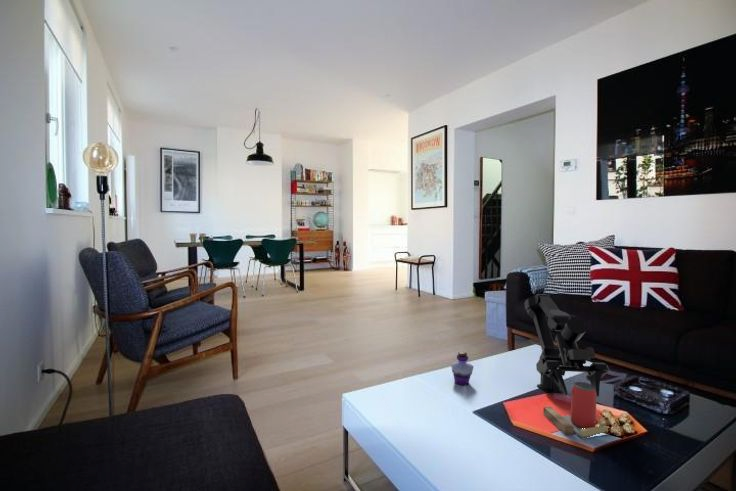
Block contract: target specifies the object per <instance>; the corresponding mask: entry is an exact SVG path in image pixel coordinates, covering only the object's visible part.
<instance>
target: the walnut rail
mask: <svg viewBox="0 0 736 491" xmlns="http://www.w3.org/2000/svg"><path fill="white" fill-rule="evenodd" d="M542 410H543V411H542V414H543V416H544V417H545V418H547V419H548V420H549V422H551V423H552V424H553V425H554V426H555V428H557V429H558V430H559V429H560V430H561V431H562V432H563V433H562V432H561V431H560V430H559V431H560V432H561V433H562V434H563V435H565V436H571V435H570V434H574V426H572V425H571V424H570V423H569V422H568V421H567V420H566V419H564V418H563V417H562V416H563V415H561V414H560V413H559V412H558V411H557V410H556V409H555V408H553V407H552V406H543V409H542ZM574 435H575V434H574Z"/></svg>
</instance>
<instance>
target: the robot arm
mask: <svg viewBox="0 0 736 491" xmlns="http://www.w3.org/2000/svg"><path fill="white" fill-rule="evenodd" d="M524 310H526V313H527V315H528V316H529V317H530V318H531V319H533V322H534V323H533V324H534V327H535V330H536V333H537V334H536V335H537V337H538V341H539V344H540V348H541V354H540V355H539V359H538V361H537V363H536V371H537V372H538V373H539V374H540V383H539V384H536V386H537V387H538V388H539V389H542V390H543V391H544V392H546V393H547V394H552V393H553V392H554V393H563V395H565V396H567V395H568V390H567V387H566V383H565V380H564V378H563V377H564V376H565V374H566V372H577V373H588V376H589V377H588V379H589V382H590V384H591V385H593V386H594V387H595V391H596V394H597V398H598V397H599V396H600V385H601V383H600V382H601V379H602V378H604V376H606V375H608V374H607V373H609V372H610V369H609V366H608V365H607V363H605V362H591V364H590V365H585V364H586V363H587V361H591V359H595V357H596V353H595V349H594V347H589V346H587V347H584V349H582V348H580V347H578V344H577V342H579V340H580V339H581V338H582V337H583V336H584V334H585V333H586V331H587V325H586V323H584V321H582V320H581V319H578V316H577V315H570V314H569V313H567V312H565V311H562V310H560V308H559V307H558V306H557V304H556V303H555V302H554V301H553V299H552V297H551V295H550V294H547V293H537V294H535V295H534V296H530V297H528V298H527V299H525V301H524ZM551 331H553V332H558V333H557V334H555V339H554V338H553V336H552V332H551ZM554 342H556V343H557V347H556V346H555V343H554Z"/></svg>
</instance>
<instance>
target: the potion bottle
mask: <svg viewBox="0 0 736 491" xmlns="http://www.w3.org/2000/svg"><path fill="white" fill-rule="evenodd" d="M456 360H458V361H454V362H452V363H451V364H450V367H451V373H452V375H453V380H454V384H456V385H457V386H462V387H464V386H468V385H469V384H470V380H471V377H472V375H473V370H474V365H473V364H471V363H470V362H467V361H468V360H469V356H468V352H465V351H458V352H457V355H456Z"/></svg>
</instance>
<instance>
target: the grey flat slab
mask: <svg viewBox="0 0 736 491" xmlns="http://www.w3.org/2000/svg"><path fill="white" fill-rule="evenodd" d="M561 416H562V417H563V418H564V419H566V420H567V421H568V422H569V423H570V424H571V425H572V426H574V433H575V434H574V435H576V434H577V435H578V436H580V437H581V438H587V437H590V436H593V435H596V434H600V433H603V432H605V431H606V430H607V429H608V428H610V427H609V426H606V425H603V426H599V427H592V428H585V429H584V428H583V429H582V428H581V427H578V426H576V425H575V424H573V423H572V422H571V419H570V418H571V414H570V415H568V414H567V415H561ZM596 422H597V421H596V420H595V423H596ZM577 435H576V436H577ZM578 436H577V437H578ZM580 437H579V438H580ZM581 438H580V439H581ZM587 439H588V438H587Z"/></svg>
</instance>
